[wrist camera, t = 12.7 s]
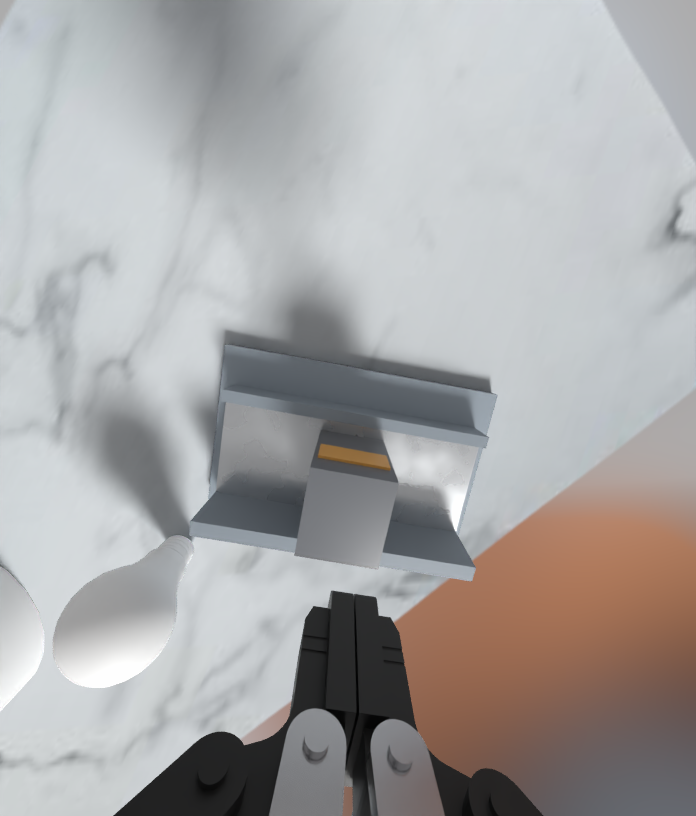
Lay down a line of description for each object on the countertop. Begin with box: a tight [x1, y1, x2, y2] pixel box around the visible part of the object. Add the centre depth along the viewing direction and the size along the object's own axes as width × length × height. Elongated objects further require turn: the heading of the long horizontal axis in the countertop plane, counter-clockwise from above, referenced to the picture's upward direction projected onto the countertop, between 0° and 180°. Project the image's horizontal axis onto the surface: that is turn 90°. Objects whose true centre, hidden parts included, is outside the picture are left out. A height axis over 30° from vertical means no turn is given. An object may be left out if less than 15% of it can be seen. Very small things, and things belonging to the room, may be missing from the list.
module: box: [294, 430, 399, 570], centre depth 20 cm, size 5×4×7 cm
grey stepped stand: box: [189, 344, 497, 581], centre depth 23 cm, size 12×20×6 cm, turn 80°
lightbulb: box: [53, 535, 194, 688], centre depth 23 cm, size 6×6×11 cm
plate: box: [216, 402, 479, 532], centre depth 25 cm, size 7×18×2 cm, turn 80°
